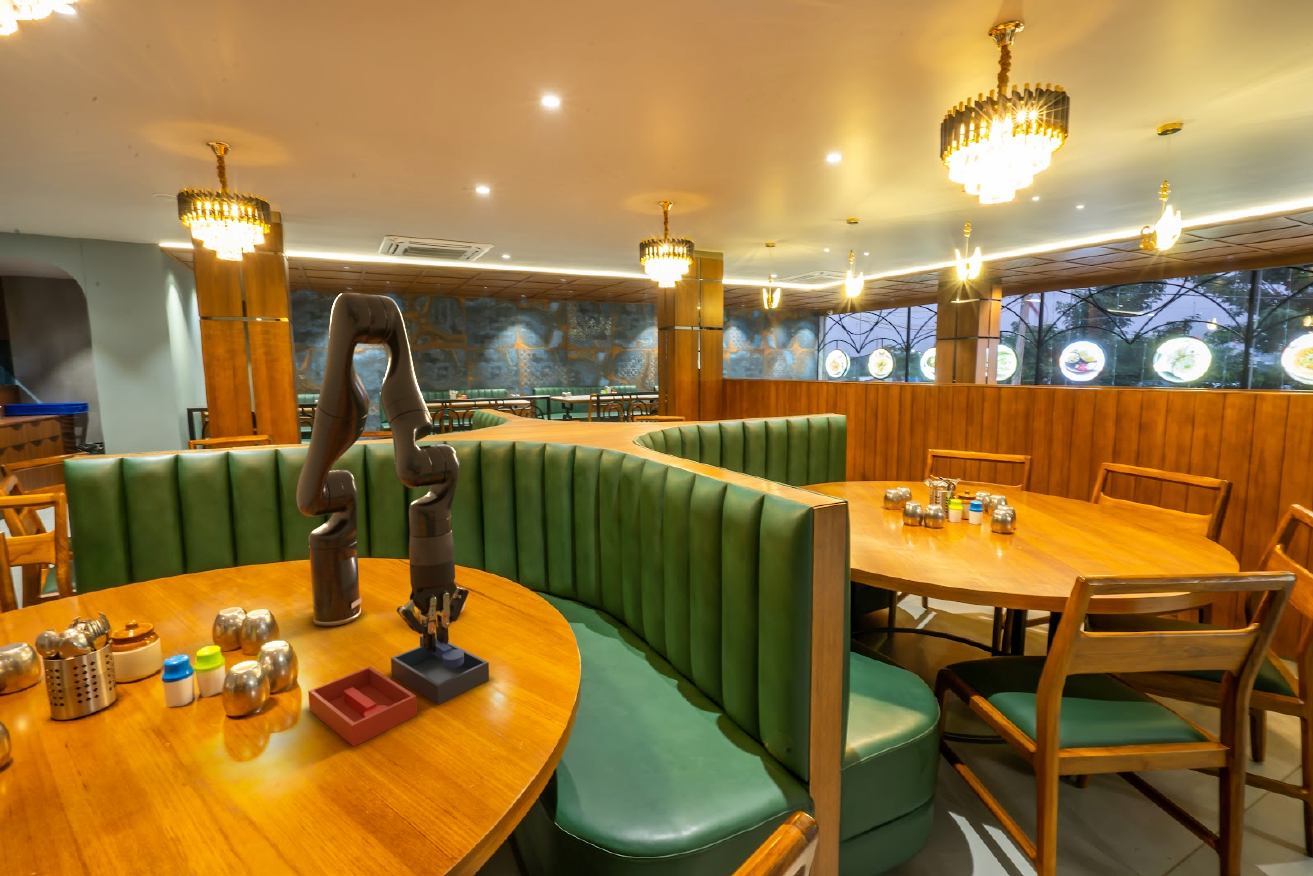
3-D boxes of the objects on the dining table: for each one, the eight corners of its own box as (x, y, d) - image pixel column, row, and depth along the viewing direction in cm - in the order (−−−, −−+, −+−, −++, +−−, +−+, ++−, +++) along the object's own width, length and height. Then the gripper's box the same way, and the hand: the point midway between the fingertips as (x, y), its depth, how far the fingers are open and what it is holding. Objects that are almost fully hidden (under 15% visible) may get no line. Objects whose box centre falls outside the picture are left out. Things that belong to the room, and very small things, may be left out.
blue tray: (391, 675, 109) (390, 658, 108) (441, 654, 117) (441, 638, 116) (438, 705, 99) (437, 686, 99) (489, 680, 107) (488, 662, 107)
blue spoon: (414, 648, 109) (414, 638, 109) (432, 641, 112) (432, 631, 112) (450, 670, 102) (449, 659, 102) (468, 662, 105) (468, 652, 105)
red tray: (309, 710, 98) (308, 690, 97) (370, 684, 106) (369, 666, 105) (353, 747, 88) (352, 725, 88) (417, 715, 96) (416, 696, 96)
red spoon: (337, 704, 98) (336, 693, 98) (359, 695, 101) (358, 684, 101) (371, 730, 92) (370, 718, 91) (393, 719, 94) (393, 708, 94)
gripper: (453, 543, 113) (457, 630, 115) (384, 562, 103) (389, 657, 105) (477, 551, 109) (480, 641, 111) (407, 571, 98) (411, 670, 100)
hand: (436, 648), depth 108 cm, fingers closed on blue spoon, 1 cm apart
